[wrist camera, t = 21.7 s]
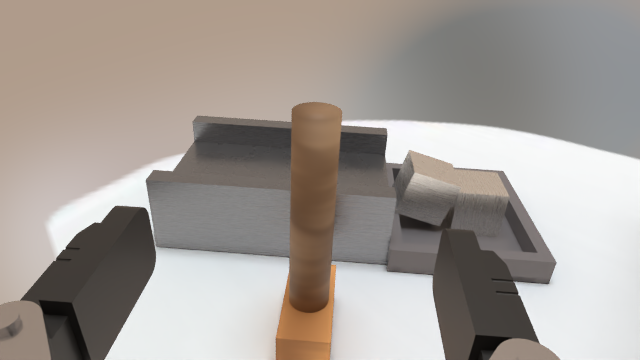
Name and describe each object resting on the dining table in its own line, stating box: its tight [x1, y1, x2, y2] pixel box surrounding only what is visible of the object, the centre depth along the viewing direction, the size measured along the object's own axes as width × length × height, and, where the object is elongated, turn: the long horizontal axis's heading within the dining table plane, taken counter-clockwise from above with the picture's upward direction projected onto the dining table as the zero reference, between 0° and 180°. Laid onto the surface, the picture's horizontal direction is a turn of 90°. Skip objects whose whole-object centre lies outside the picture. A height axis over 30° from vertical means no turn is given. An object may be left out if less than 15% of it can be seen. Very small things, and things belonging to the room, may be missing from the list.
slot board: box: [146, 116, 396, 264], centre depth 40 cm, size 18×12×6 cm
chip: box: [392, 150, 461, 226], centre depth 39 cm, size 4×4×4 cm
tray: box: [386, 163, 556, 284], centre depth 40 cm, size 12×14×2 cm
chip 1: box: [445, 169, 510, 237], centre depth 40 cm, size 4×4×4 cm
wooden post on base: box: [276, 102, 342, 360], centre depth 26 cm, size 3×6×15 cm, turn 175°
